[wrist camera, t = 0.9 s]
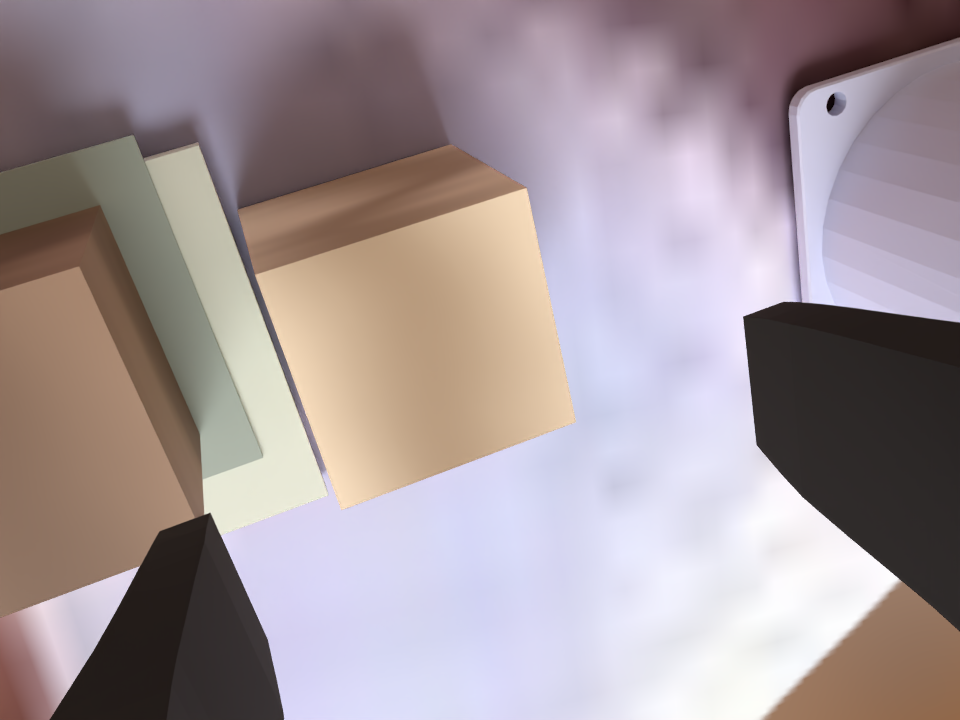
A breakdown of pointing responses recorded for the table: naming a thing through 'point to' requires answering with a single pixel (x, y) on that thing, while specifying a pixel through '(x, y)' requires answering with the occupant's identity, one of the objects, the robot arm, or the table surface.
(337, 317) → the maple cube
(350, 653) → the table surface
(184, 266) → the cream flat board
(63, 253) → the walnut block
